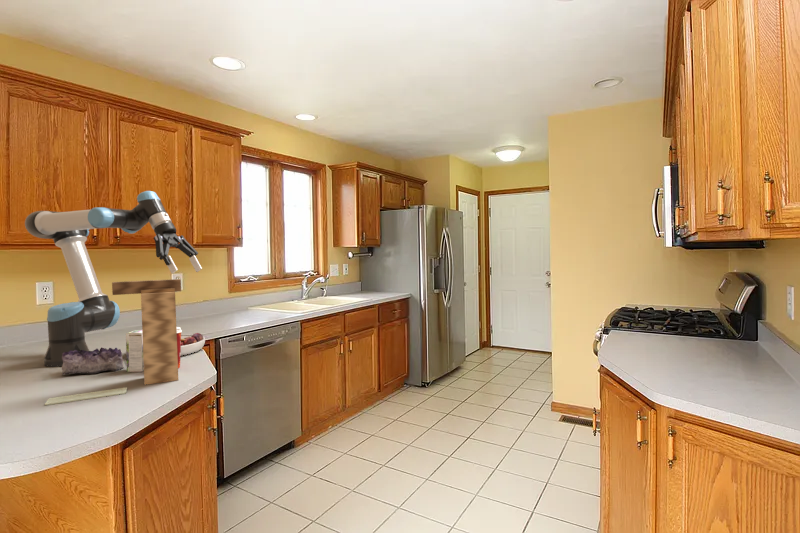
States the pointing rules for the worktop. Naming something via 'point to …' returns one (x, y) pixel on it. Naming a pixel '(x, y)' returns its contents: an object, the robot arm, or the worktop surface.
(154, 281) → the walnut bar
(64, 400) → the sage mat
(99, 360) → the geode
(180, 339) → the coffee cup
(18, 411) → the worktop surface
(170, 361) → the oak pedestal
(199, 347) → the bowl
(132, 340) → the syrup box
